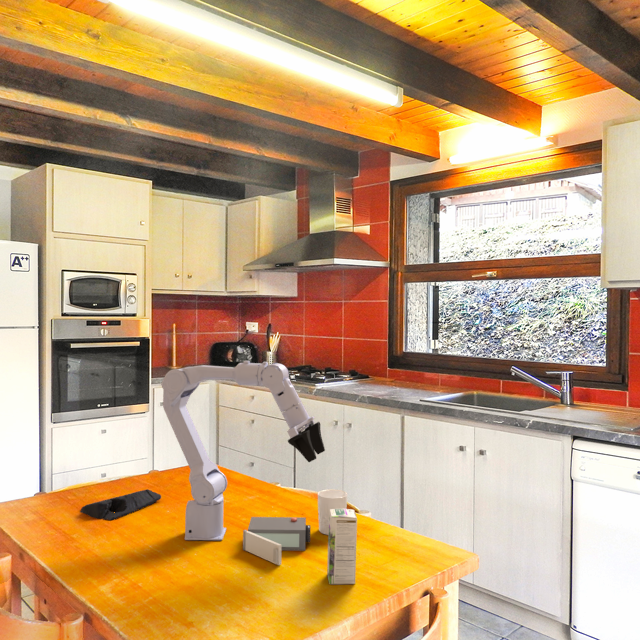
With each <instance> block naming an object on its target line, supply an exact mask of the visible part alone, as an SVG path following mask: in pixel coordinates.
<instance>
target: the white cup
mask: <svg viewBox="0 0 640 640" xmlns="http://www.w3.org/2000/svg"><path fill="white" fill-rule="evenodd" d="M347 502H348V493H347V492H346V491H345V490H340V489H329V488H328V489H324V490H323V489H322V490H320V491H318V492H317V512H318V531H319V532H320V533H321V534H323V535H326V536H329V511H330V509H348V508H347V506H348V503H347Z"/></svg>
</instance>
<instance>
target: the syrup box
mask: <svg viewBox="0 0 640 640" xmlns="http://www.w3.org/2000/svg"><path fill="white" fill-rule="evenodd" d="M357 529H358V518H357V514H356V512H355V509H351V508H350V509H349V508H347V509H330V511H329V535H327V536H328V537H327V540H328V542H327V580H328V585H354V584H356V572H357V571H356V565H357V563H356V562H357V537H358V536H357V533H358V530H357Z"/></svg>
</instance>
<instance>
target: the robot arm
mask: <svg viewBox="0 0 640 640" xmlns="http://www.w3.org/2000/svg"><path fill="white" fill-rule="evenodd" d="M289 376H290V375H289V369H288V368H287V367H286V365H284V364H282V363H278V362H273V363H271V364H269V363H268V361H263V362H262V363H259V362H258V363H257V362H256V363H255V362H251V361H250V360H243V362H239V363H238V364H237V365H236V366H234V367H231V366H219V365H207V364H205V365H204V364H202V365H195V366H185V367H182V368H178V369H177V368H176V369H175V368H174V369H170V370H169V371H167V372H166V373H165V375H164V377H163V379H162V382H161V384H160V385H161V387H162V390H163V394H162V397H163V399H162V404H163V405H162V406H163V410H164V413H165V414H166V417H167V420H168V421H169V424H170V426H171V429H172V430H173V432H174V435H175V437H176V440H177V442H178V444H179V447H180V449H181V452H182V453H183V455H184V458H185V460H186V462H187V465H188V467H189V470H190V472H189V477H188V480H189V483H190V487H191V489H190V490H191V491H190V492H191V496H192V498H193V500H192V499H191V500H188V501H187V503H186V507H185V529H184V530H185V531H184V534H185V535H184V540H185V541H222V540H224V536H225V535H226V531H227V527H224V495H223V493H224V492H225V491H226V489H227V487H228V479H227V476H226V475H225V474H224V473H223V472H222V471H221V470H220V468H218V467H219V466H218V465H217V464H216V463H215V462H213V461H212V460H211V459H210V457H209V455H208V452H207V450H206V448H205V446H204V443H203V441H202V439H201V437H200V435H199V432H198V430H197V427H196V426H195V423H194V422H193V418H192V417H191V414H190V413H189V410H188V408H187V405H188V401H189V400H190V397H191V395H193V394H192V393H194V392H195V391H196V389H198V387H199V386H200V384H201V383H204V382H206V381H207V380H213V381H215V380H217V381H219V380H221V381H222V380H223V381H224V380H225V381H226V380H229V381H231V380H232V381H234V382H235V383H236V384H237V385H239V386H251V387H265V388H267V389H268V390H269V391H270V393H271V395H272V397H273V399H274V401H275V403H276V405H277V407H278V409H279V411H280V412H281V414H282V417H283V418H284V421H285V422H286V425H287V426H288V428H289V429H287V430H286V432H287V434H288V436H289V439H287V443H288V444H289V445H291V446H292V447H294V449H296V450H297V452H299V453H300V454H301V455H302V456H303V458H304V459H305V460H306V461H307V463H310V462H313V461H314V460H316V459H317V455H319V454H321V453H323V452H325V451H326V449H325V445H324V442H323V437H322V432H321V423H320V421H317V422H316V421H315V419H316V417H315V416H314V415H313V416H312V415H311V416H310V415H309V413H308V411H307V410H306V408H305V406H304V404H303V402H302V400H301V398H300V396H299V395H298V392H297V390H296V389H295V386H294V385H293V384H292V382H291V380H290V377H289ZM316 454H317V455H316Z"/></svg>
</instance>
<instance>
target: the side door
mask: <svg viewBox="0 0 640 640" xmlns="http://www.w3.org/2000/svg"><path fill="white" fill-rule="evenodd" d="M242 531H243V533H242V550H243V551H245V552H249V554H253V555H255V556H257V557H259V558H262V559H264V560H266V561H269V562H270V563H273V564H275V565H277V566H280V565H282V550H281V549H282V545H281V544H279V543H276V542H274V541H271V540H269V539H267V538H264V537H262V536H259V535H257V534H254V533H252V532H250V531H248V529H244V530H242Z"/></svg>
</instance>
